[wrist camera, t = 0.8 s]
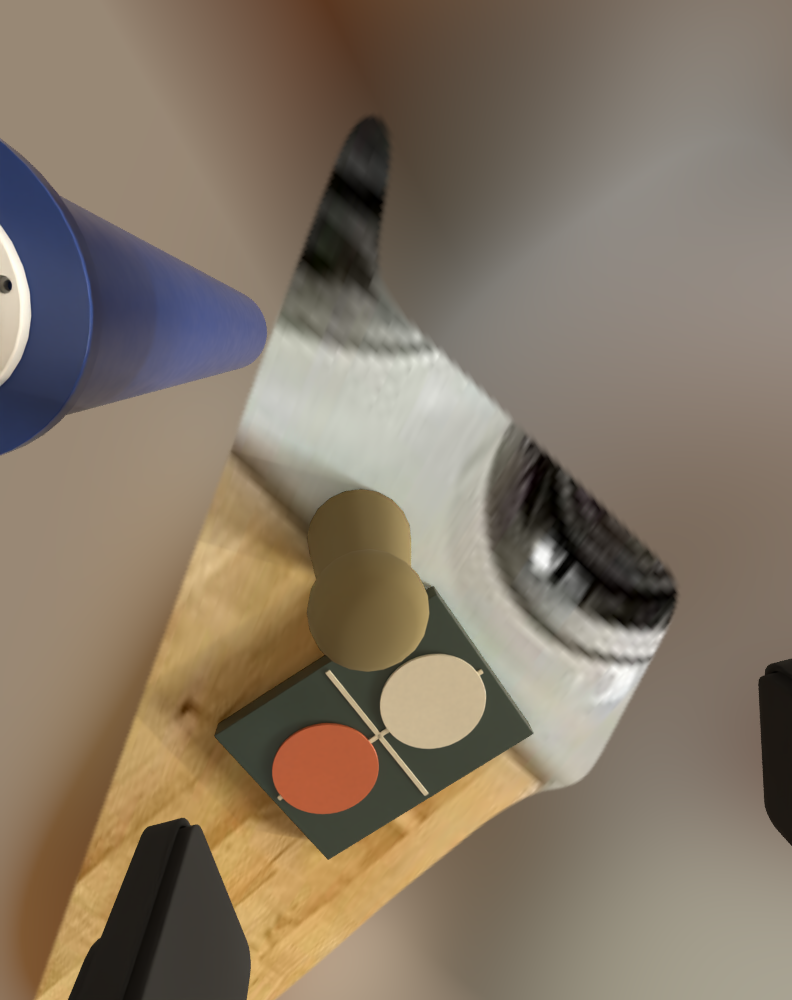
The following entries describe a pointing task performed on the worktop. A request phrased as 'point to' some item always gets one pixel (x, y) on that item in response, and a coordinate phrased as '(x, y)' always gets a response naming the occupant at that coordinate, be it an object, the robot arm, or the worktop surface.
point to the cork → (364, 582)
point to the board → (375, 734)
